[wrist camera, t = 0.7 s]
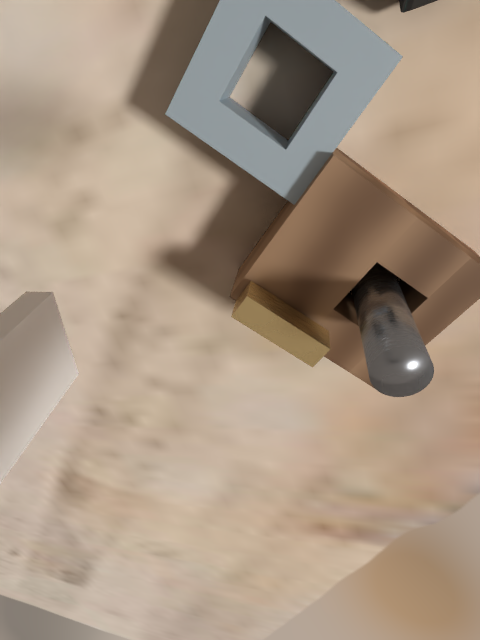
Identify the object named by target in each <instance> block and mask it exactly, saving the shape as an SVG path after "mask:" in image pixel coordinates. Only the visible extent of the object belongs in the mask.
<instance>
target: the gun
mask: <svg viewBox="0 0 480 640" xmlns="http://www.w3.org/2000/svg"><path fill="white" fill-rule="evenodd" d="M435 1H437V0H399V3H400V9H401V12H407V11H410V10H413V9H416V8H418V7H421V6H424V5H426V4H429V3H432V2H435Z"/></svg>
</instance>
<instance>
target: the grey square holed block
mask: <svg viewBox="0 0 480 640" xmlns="http://www.w3.org/2000/svg"><path fill="white" fill-rule="evenodd" d="M270 22H271V23H273V24H274V25H275V26H277V27H278V28H279V29H280V30H282V31H283V32H284V33H285V34H287V35H288V36H289V37H290V38H292V39H293V40H294V41H295V42H297V43H298V44H299V45H301V46H302V47H303V48H304V49H306V50H307V51H308V52H309V53H311V54H312V55H313V56H314V57H316V58H317V59H318V60H319V61H321V62H322V63H323V64H325V65H326V66H327V67H328V68H330V69H331V70H332V71H333V73H332V75H331V76H330V78H329V80H328V81H327V83H326V84H325V86H324V87H323V89H322V90H321V92H320V93H319V95H318V96H317V98H316V99H315V101H314V102H313V104H312V105H311V107H310V108H309V110H308V111H307V113H306V114H305V116H304V117H303V119H302V120H301V122H300V123H299V125H298V126H297V128H296V129H295V131H294V133H293V134H292V136H291V137H290V139H289V140H287V139H286V138H284V137H283V136H281V135H280V134H279V133H277V132H276V131H275V130H273V129H272V128H271V127H269V126H268V125H267V124H265V123H264V122H262V121H261V120H260V119H258V118H257V117H256V116H254V115H253V114H252V113H250V112H249V111H247V110H246V109H245V108H243V107H242V106H241V105H239V104H238V103H237V102H235V101H234V100H233V99H231V98H230V95H231V93H232V91H233V89H234V88H235V86H236V84H237V82H238V80H239V78H240V77H241V75H242V73H243V71H244V69H245V68H246V66H247V64H248V62H249V60H250V58H251V57H252V55H253V53H254V51H255V49H256V48H257V46H258V44H259V42H260V40H261V39H262V37H263V35H264V33H265V31H266V29H267V28H268V26H269V24H270ZM402 57H403V56H401V55H400V54H399V53H398V52H397V51H395V50H394V49H393V48H392V47H391V46H389V45H388V44H387V43H386V42H385V41H383V40H382V39H381V38H380V37H379V36H377V35H376V34H375V33H374V32H373V31H371V30H370V29H369V28H368V27H367V26H365V25H364V24H363V23H362V22H361V21H359V20H358V19H357V18H356V17H355V16H353V15H352V14H351V13H350V12H348V11H347V10H346V9H345V8H344V7H342V6H341V5H340V4H339V3H338V2H336V1H335V0H220V1H219V3H218V5H217V7H216V9H215V11H214V14H213V16H212V18H211V20H210V22H209V24H208V26H207V28H206V30H205V32H204V34H203V36H202V38H201V41H200V43H199V45H198V47H197V49H196V51H195V53H194V55H193V57H192V59H191V61H190V63H189V66H188V68H187V70H186V72H185V74H184V76H183V78H182V80H181V82H180V84H179V86H178V88H177V91H176V93H175V95H174V97H173V99H172V101H171V103H170V105H169V107H168V109H167V111H166V113H165V115H167V116H168V117H170V118H171V119H173V120H174V121H175V122H177V123H178V124H180V125H181V126H183V127H184V128H185V129H187V130H188V131H190V132H191V133H192V134H194V135H195V136H197V137H198V138H200V139H201V140H202V141H204V142H205V143H207V144H208V145H210V146H211V147H212V148H214V149H215V150H217V151H218V152H220V153H221V154H222V155H224V156H225V157H227V158H228V159H229V160H231V161H232V162H234V163H235V164H237V165H238V166H239V167H241V168H242V169H244V170H245V171H247V172H248V173H249V174H251V175H252V176H254V177H255V178H257V179H258V180H259V181H261V182H262V183H264V184H265V185H266V186H268V187H269V188H271V189H272V190H274V191H275V192H276V193H278V194H279V195H281V196H282V197H284V198H285V199H286V200H288V201H289V202H291V203H292V204H294V205H295V204H296V202H297V201H298V199H299V198H300V197H301V195H302V194H303V193H304V191H305V190H306V188H307V187H308V186H309V184H310V183H311V182H312V180H313V179H314V178H315V176H316V175H317V173H318V172H319V171H320V169H321V168H322V167H323V165H324V164H325V162H326V161H327V160H328V158H329V157H330V156H331V154H332V153H333V152H334V150H335V149H336V147H337V146H338V145H339V143H340V142H341V141H342V139H343V138H344V137H345V135H346V134H347V132H348V131H349V130H350V128H351V127H352V126H353V124H354V123H355V121H356V120H357V119H358V117H359V116H360V115H361V113H362V112H363V111H364V109H365V108H366V106H367V105H368V104H369V102H370V101H371V100H372V98H373V97H374V95H375V94H376V93H377V91H378V90H379V89H380V87H381V86H382V85H383V83H384V82H385V80H386V79H387V78H388V76H389V75H390V74H391V72H392V71H393V69H394V68H395V67H396V65H397V64H398V63H399V61H400V60H401V59H402Z"/></svg>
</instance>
